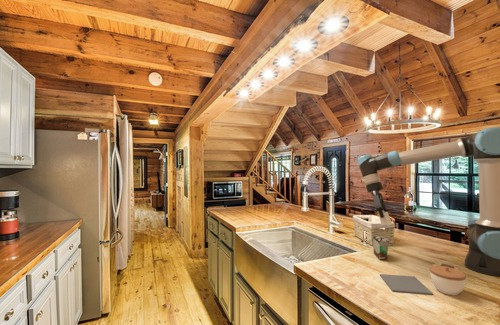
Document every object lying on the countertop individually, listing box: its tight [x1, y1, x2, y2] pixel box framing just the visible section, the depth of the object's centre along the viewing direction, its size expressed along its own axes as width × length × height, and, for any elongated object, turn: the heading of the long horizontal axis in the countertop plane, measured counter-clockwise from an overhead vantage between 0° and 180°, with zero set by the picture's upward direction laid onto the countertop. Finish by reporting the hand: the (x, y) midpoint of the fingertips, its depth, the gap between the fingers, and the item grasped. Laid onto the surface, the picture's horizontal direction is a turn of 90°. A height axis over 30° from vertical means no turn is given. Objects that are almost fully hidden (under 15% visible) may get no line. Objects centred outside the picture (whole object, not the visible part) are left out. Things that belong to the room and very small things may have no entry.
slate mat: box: [379, 273, 434, 296], centre depth 97 cm, size 14×14×1 cm
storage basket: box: [352, 214, 396, 247], centre depth 155 cm, size 24×16×15 cm
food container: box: [373, 235, 389, 261], centre depth 126 cm, size 12×6×10 cm, turn 168°
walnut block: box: [439, 263, 455, 269], centre depth 105 cm, size 4×4×4 cm
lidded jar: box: [429, 265, 467, 296], centre depth 91 cm, size 11×11×9 cm
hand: (387, 224), depth 115 cm, fingers open, 13 cm apart
